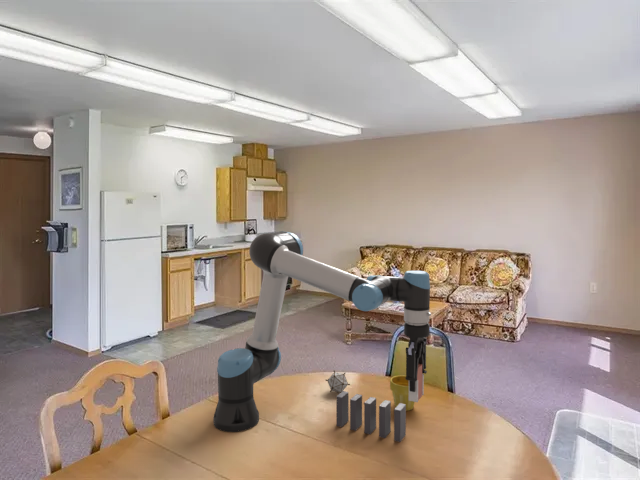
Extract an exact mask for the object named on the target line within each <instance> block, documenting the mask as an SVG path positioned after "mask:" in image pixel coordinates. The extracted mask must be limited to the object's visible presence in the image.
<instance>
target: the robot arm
mask: <svg viewBox="0 0 640 480" xmlns="http://www.w3.org/2000/svg"><path fill="white" fill-rule="evenodd" d="M303 253H304V246H303V242H302V240H301V239H300V237H299V236H298V235H296V234H295V233H293V232H290V231H283V230H282V231H279V232H270V233H268V232H266V233H262V234H259V235H257V236H256V237H255V238H254V239H253V240H252V241H251V243H250V245H249V258H250V260H251V262H252V263H253V264H254V265H255V266H256V267H257V268H258V269H261V270H262V271H263V274H262V275H263V276H262V282H261V285H260V287H261V288H260V291H259V297H258V302H257V306H256V312H255V317H254V323H253V327H252V333H251V335H249V336H248V337H247V338H246V341H245V346H244V347H243V348H241V347H239V348H234V349H229V350H226V351H224V352H223V353H222V354H220V355H219V357H218V359H217V367H216V370H217V371H216V373H217V392H218V393H217V395H218V397H217V398H218V399H217V400H218V401H217V404H216V407H215V411H214V414H213V426H214V428H215V429H217V430H219V431H221V432H225V433H226V432H227V433H235V432H243V431H247V430H249V429H252V428H254V427H255V426H256V425H257V424H258V423H259V422H260V412H259V410H258V408H257V404H256V402H255V399H254V398H255V397H254V384H256V383H257V382H259V381H261V380H262V379H264V378H266V377H268V376H270V375H272V373H274V372H275V371H276V370H277V369H278V368H279V366H280V364H281V359H282V353H281V351H280V348H279V342H278V341H277V339H276V338H277V332H278V328H279V324H280V318H281V314H282V309H283V303H284V299H285V294H286V288H287V286H288V285H287V284H288V279H289V278H291V279H294V280H296V281H298V282H301V283H304V284H306V285H309V286H312V287H313V288H316V289H319V290H321V291H324V292H326V293H329V294H331V295H334V296H336V297H339V298H341V299H343V300H347V301H349V302H352V303H353V305H354V306H355V307H356V308H357V310H360V311H362V312H370V311H374V310H376V309H378V308H379V307H380V306H381V305H384V304H385V303H386V302H398V303H401V302H402V303H404V304H403V305H404V306H403V321H404V322H403V333H404V336H406V337H408V338H409V341H408V343H407V344H408V345H407V346H408V347H406V348H405V354H406V357H405V367H406V368H405V373H406V374H405V376H406V380H409V401H413V402H415V403H418V402H419V401H418V380H417V374H418V364H422V396H424V395H425V393H424V391H425V390H424V389H425V387H424V386H425V384H424V381H425V379H424V377H425V374H427V372H428V370H426V369H427V343H428V342H427V338H428V337H429V336H430V323H429V322H430V317H431V316H432V312H430V309H431V308H430V307H431V306H430V304H431V303H430V301H431V299H430V297H431V283H430V282H431V281H430V274H429V273H428V271H424V270H407V271H405V272H404V275H403V276H388V275H381V274H377V275H369V276H367V278H366V279H365V278H362V277H361V276H358V275H355V274H353V273H349V272H347V271H345V270H342V269H339V268H338V267H337V268H336V267H334V266H332V265H329V264H325V263H323V262H321V261H318V260H315V259H313V258H310V257H307V256H304V255H303Z"/></svg>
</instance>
